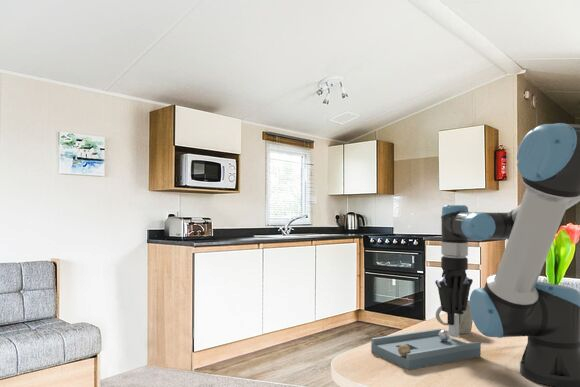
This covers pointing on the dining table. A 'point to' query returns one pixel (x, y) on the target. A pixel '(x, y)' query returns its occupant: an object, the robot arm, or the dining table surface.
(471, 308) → the robot arm
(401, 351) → the cork ball
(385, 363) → the dining table surface
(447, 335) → the steel ball
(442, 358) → the plate
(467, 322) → the mug
